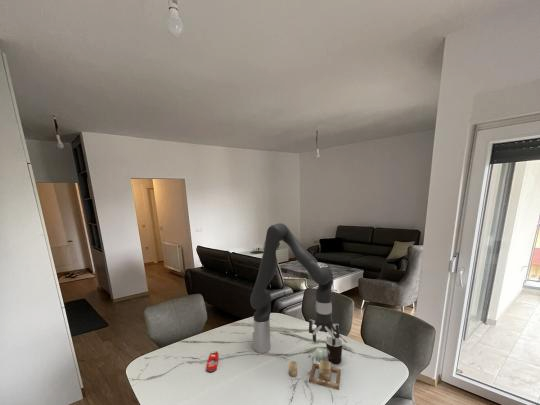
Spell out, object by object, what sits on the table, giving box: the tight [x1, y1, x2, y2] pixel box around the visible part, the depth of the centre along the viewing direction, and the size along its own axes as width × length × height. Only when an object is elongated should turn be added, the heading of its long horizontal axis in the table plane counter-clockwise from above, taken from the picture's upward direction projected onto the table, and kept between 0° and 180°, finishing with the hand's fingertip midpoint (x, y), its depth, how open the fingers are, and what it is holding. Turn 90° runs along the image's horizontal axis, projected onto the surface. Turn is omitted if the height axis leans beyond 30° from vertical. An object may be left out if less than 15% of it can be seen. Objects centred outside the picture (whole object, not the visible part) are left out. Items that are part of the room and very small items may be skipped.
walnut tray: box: [308, 362, 342, 391], centre depth 111 cm, size 14×12×2 cm
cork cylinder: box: [288, 360, 298, 378], centre depth 113 cm, size 4×4×5 cm
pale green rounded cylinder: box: [315, 347, 326, 363], centre depth 123 cm, size 4×4×5 cm
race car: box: [205, 350, 219, 373], centre depth 122 cm, size 13×5×4 cm, turn 5°
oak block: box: [318, 360, 332, 382], centre depth 111 cm, size 5×5×6 cm
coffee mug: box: [325, 336, 344, 366], centre depth 124 cm, size 12×9×10 cm
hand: (324, 343), depth 111 cm, fingers open, 8 cm apart
